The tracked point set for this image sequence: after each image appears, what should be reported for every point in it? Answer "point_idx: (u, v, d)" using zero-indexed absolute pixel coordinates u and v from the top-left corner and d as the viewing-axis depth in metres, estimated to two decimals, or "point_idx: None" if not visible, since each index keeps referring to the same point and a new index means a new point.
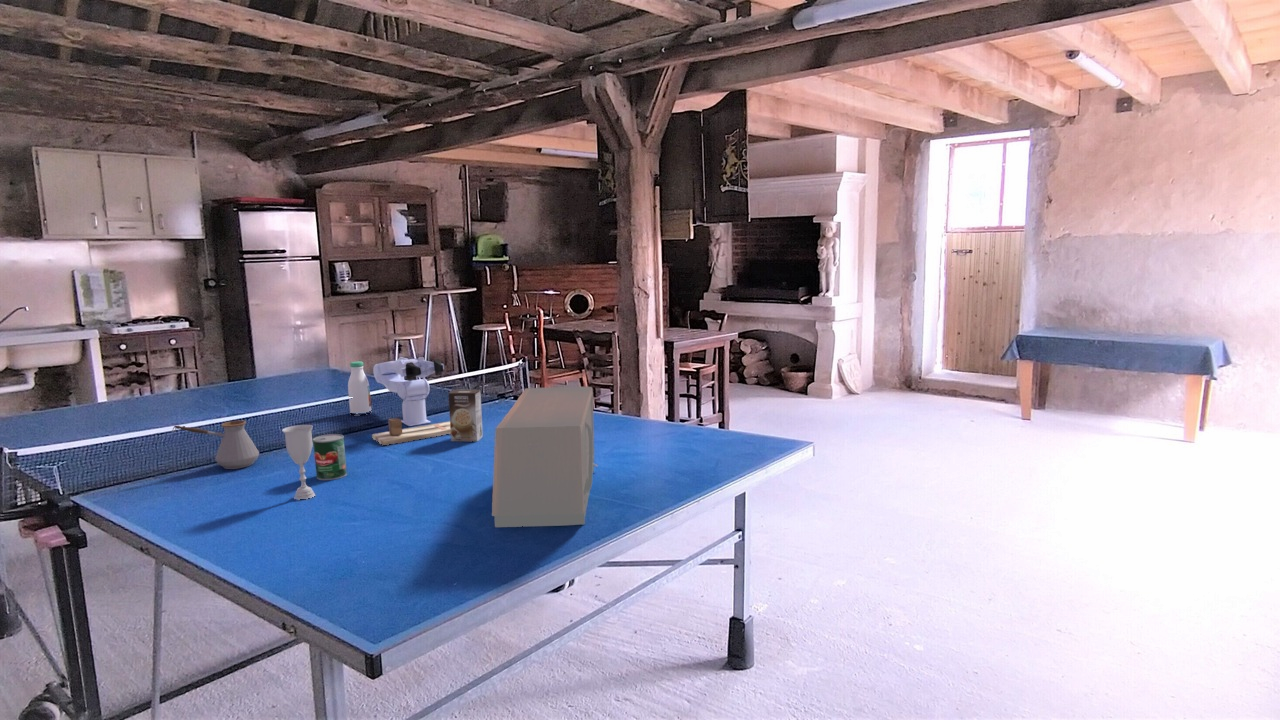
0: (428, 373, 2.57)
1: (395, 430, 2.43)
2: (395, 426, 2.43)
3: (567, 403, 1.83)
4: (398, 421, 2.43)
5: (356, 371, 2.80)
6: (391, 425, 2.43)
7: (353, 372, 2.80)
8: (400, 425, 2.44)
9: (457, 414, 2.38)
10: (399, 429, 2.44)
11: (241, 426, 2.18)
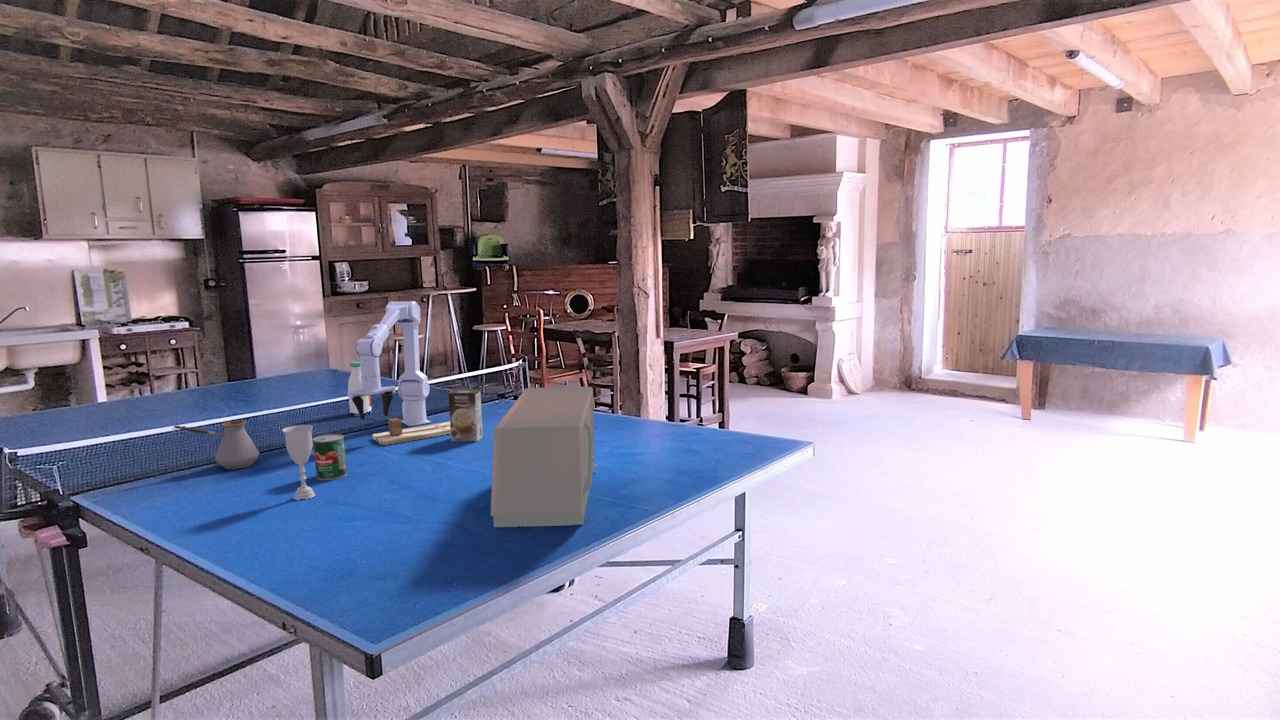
0: None
1: (395, 430, 2.43)
2: (395, 426, 2.43)
3: (567, 403, 1.83)
4: (398, 421, 2.43)
5: (356, 371, 2.80)
6: (391, 425, 2.43)
7: (353, 372, 2.80)
8: (400, 425, 2.44)
9: (457, 414, 2.38)
10: (399, 429, 2.44)
11: (241, 426, 2.18)
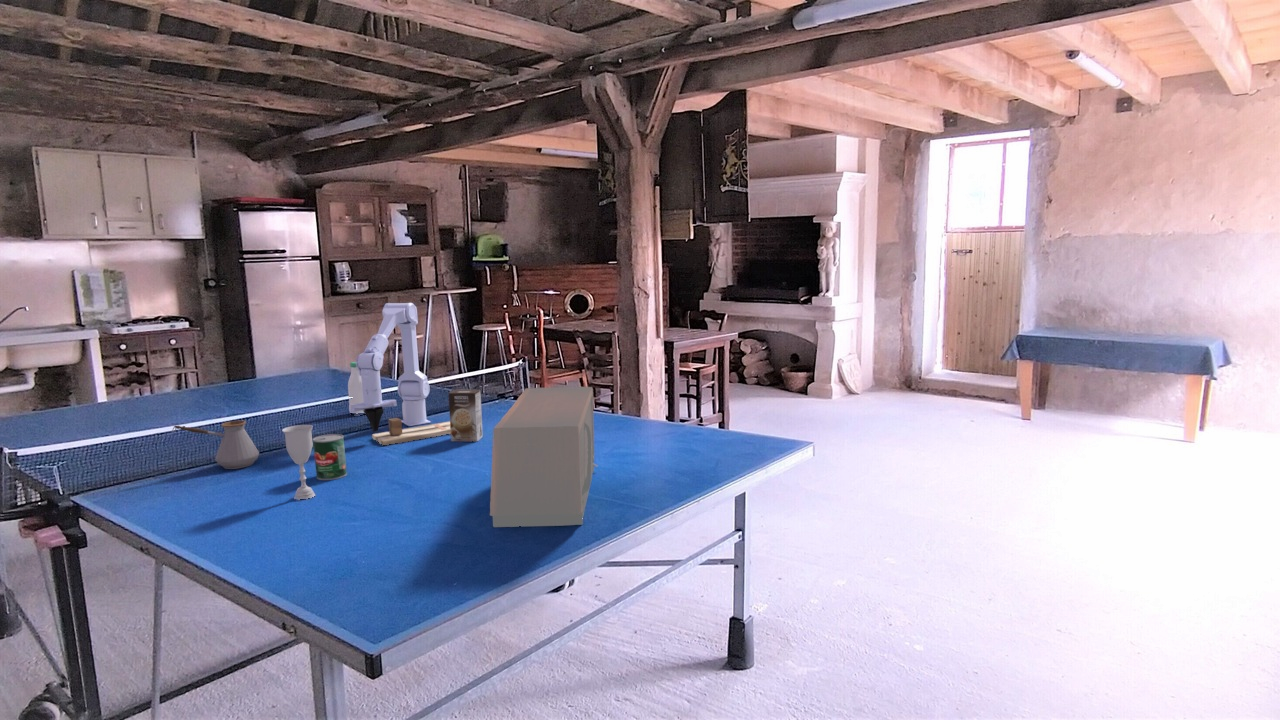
0: None
1: (395, 430, 2.43)
2: (395, 426, 2.43)
3: (566, 403, 1.83)
4: (398, 421, 2.43)
5: (356, 371, 2.80)
6: (391, 425, 2.43)
7: (353, 372, 2.80)
8: (400, 425, 2.44)
9: (457, 414, 2.38)
10: (399, 429, 2.44)
11: (241, 426, 2.18)
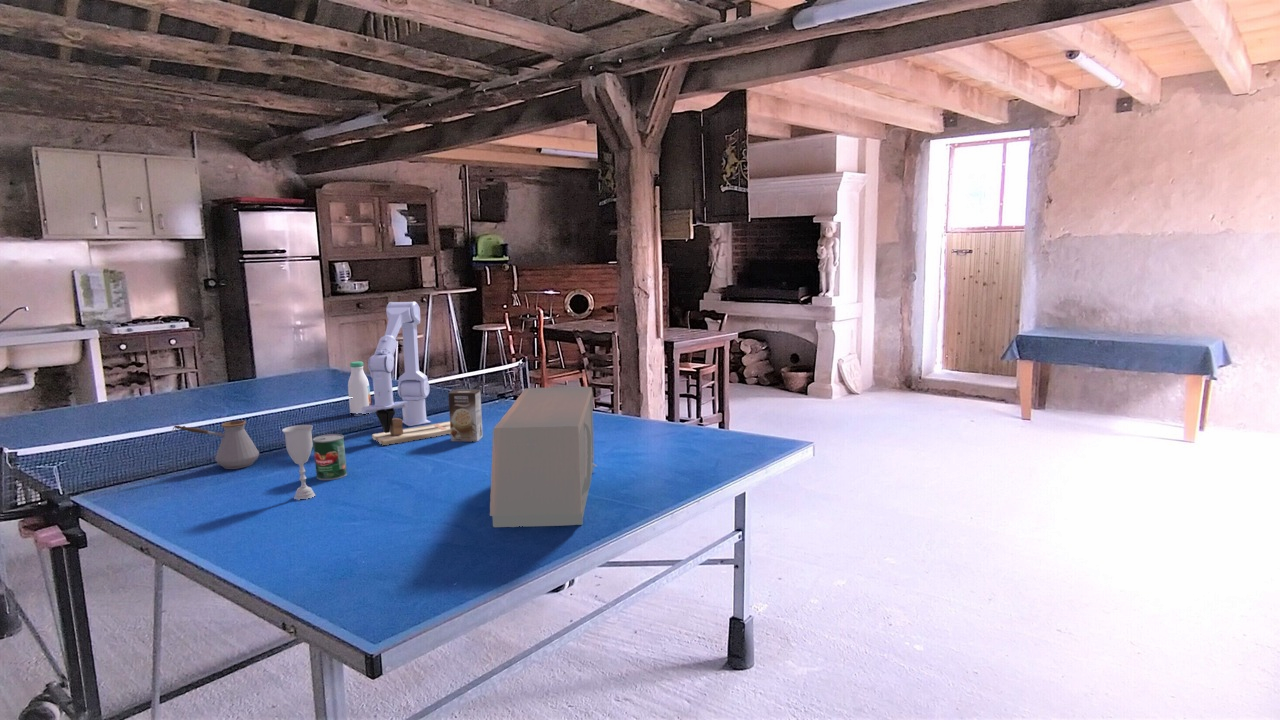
0: None
1: (396, 429, 2.43)
2: (396, 426, 2.43)
3: (566, 403, 1.83)
4: (399, 421, 2.43)
5: (356, 371, 2.80)
6: (391, 424, 2.43)
7: (353, 372, 2.80)
8: (401, 425, 2.44)
9: (457, 414, 2.38)
10: (400, 429, 2.44)
11: (241, 426, 2.18)
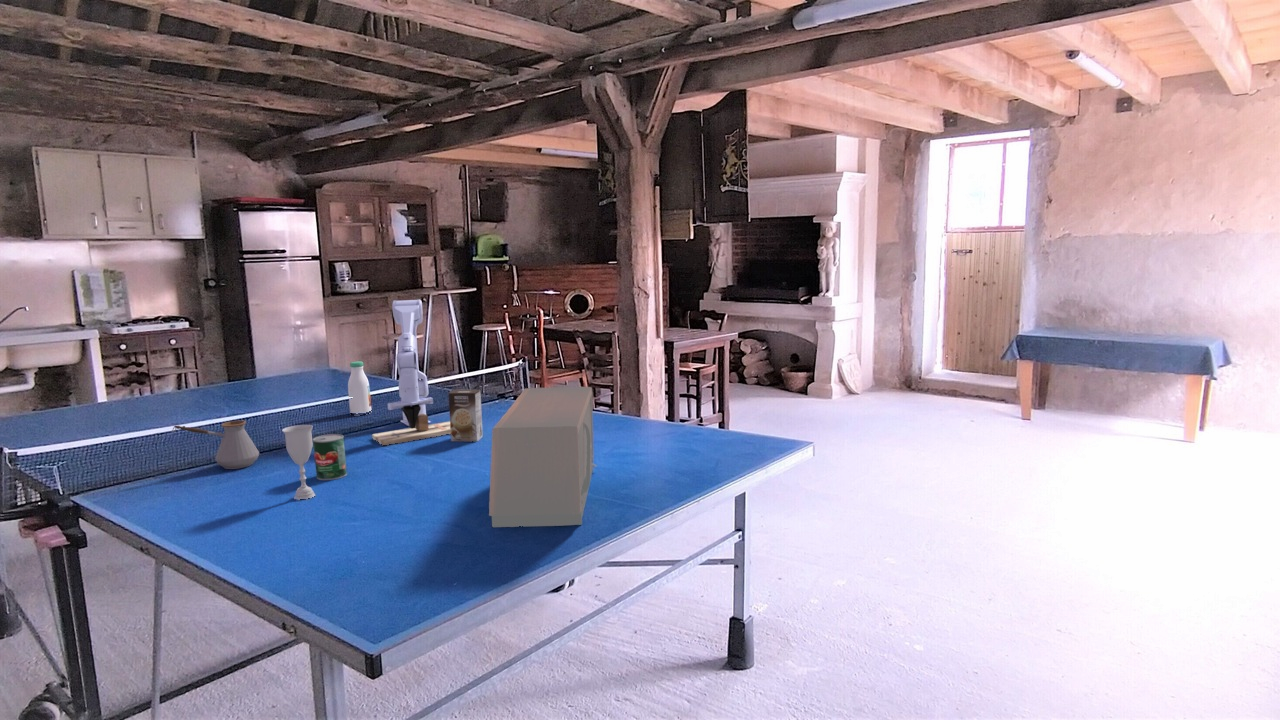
0: None
1: (422, 425, 2.48)
2: (421, 422, 2.48)
3: (565, 403, 1.83)
4: (424, 417, 2.48)
5: (356, 371, 2.80)
6: (417, 420, 2.48)
7: (353, 372, 2.80)
8: (426, 421, 2.49)
9: (457, 414, 2.38)
10: (425, 425, 2.49)
11: (241, 426, 2.18)
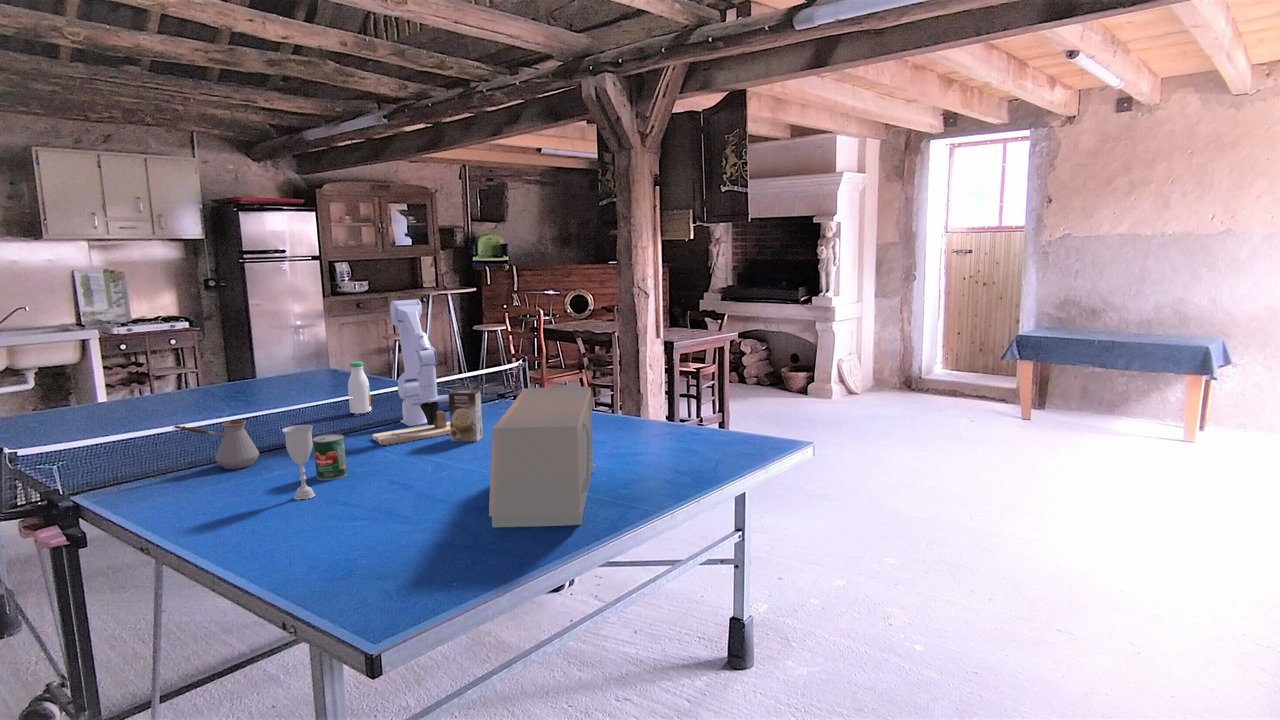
0: None
1: (440, 422, 2.51)
2: (439, 419, 2.51)
3: (565, 403, 1.83)
4: (443, 414, 2.52)
5: (356, 371, 2.80)
6: (435, 417, 2.52)
7: (353, 372, 2.80)
8: (444, 418, 2.52)
9: (457, 414, 2.38)
10: (443, 422, 2.52)
11: (241, 426, 2.18)
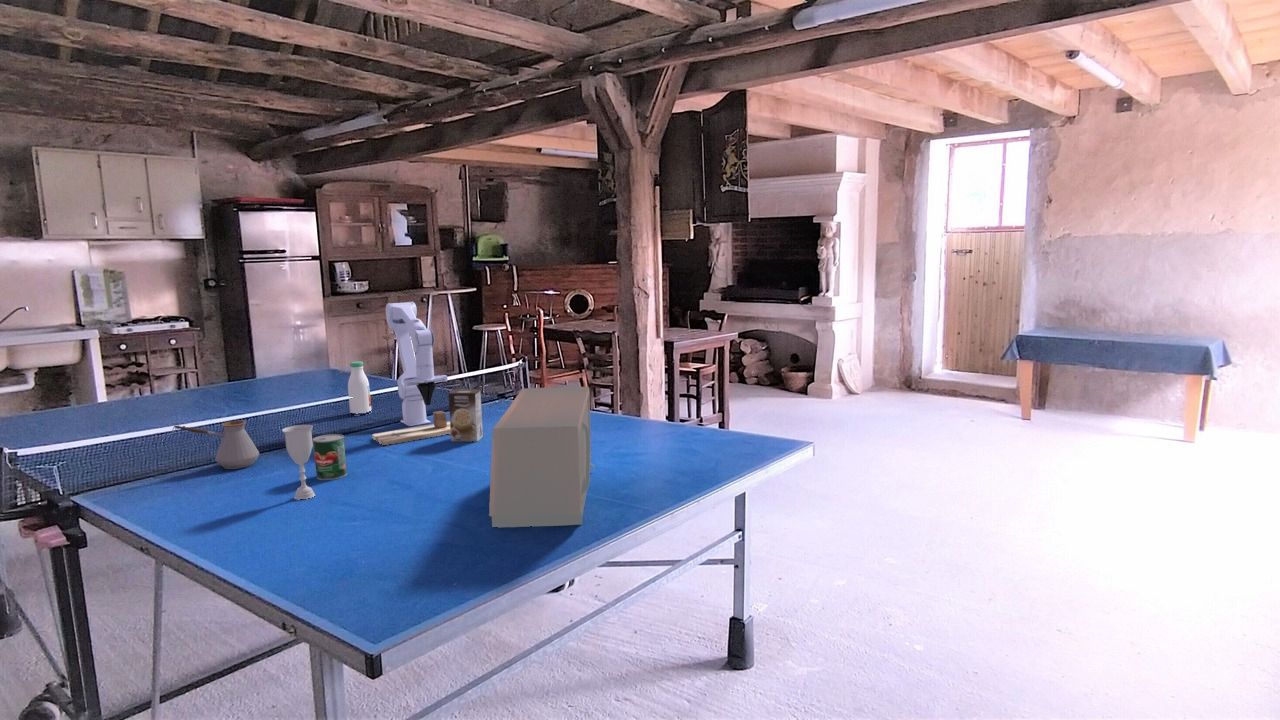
0: None
1: (440, 422, 2.52)
2: (440, 419, 2.51)
3: (564, 403, 1.83)
4: (443, 414, 2.52)
5: (356, 371, 2.80)
6: (436, 417, 2.52)
7: (353, 372, 2.80)
8: (445, 418, 2.52)
9: (457, 414, 2.38)
10: (444, 422, 2.52)
11: (241, 426, 2.18)
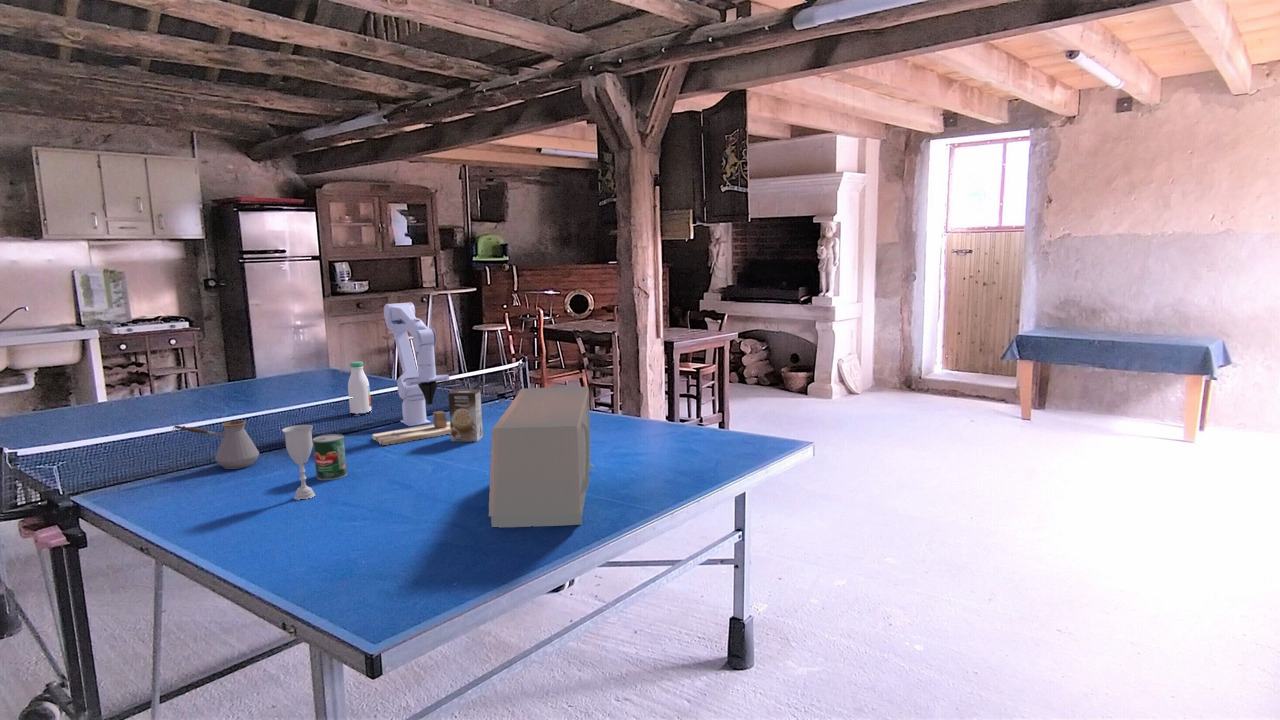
0: None
1: (440, 422, 2.52)
2: (440, 419, 2.51)
3: (563, 403, 1.83)
4: (443, 414, 2.52)
5: (356, 371, 2.80)
6: (436, 417, 2.52)
7: (353, 372, 2.80)
8: (445, 418, 2.52)
9: (457, 414, 2.38)
10: (444, 422, 2.52)
11: (241, 426, 2.18)
